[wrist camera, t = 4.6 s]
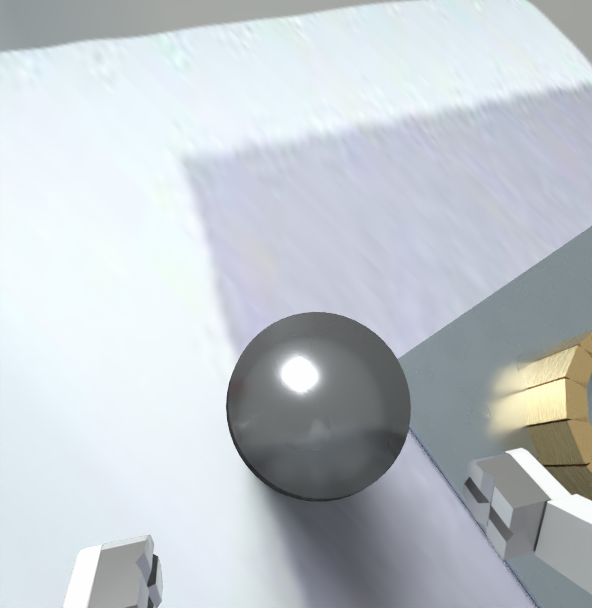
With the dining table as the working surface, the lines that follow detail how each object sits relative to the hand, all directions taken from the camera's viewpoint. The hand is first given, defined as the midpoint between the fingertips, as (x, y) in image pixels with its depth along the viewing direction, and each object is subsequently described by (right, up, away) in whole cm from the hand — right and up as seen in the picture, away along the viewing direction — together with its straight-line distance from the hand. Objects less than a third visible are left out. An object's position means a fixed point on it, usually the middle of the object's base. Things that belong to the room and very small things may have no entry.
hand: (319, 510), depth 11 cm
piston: (-1, -1, +10) cm, 10 cm away
